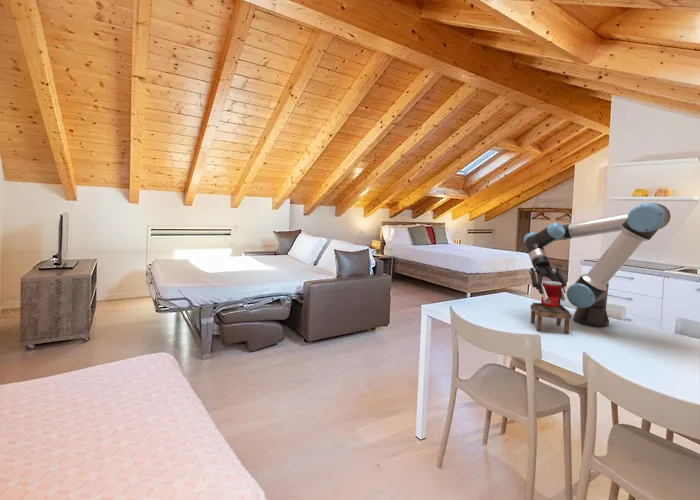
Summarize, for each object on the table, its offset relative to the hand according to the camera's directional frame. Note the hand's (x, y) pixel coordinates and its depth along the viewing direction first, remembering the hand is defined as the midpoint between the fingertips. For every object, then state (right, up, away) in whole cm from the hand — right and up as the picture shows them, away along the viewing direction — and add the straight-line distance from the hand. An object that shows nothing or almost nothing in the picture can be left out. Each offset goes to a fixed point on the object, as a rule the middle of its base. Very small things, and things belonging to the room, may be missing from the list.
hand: (555, 299), depth 173 cm
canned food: (0, -3, +4) cm, 5 cm away
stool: (0, -14, +5) cm, 15 cm away
